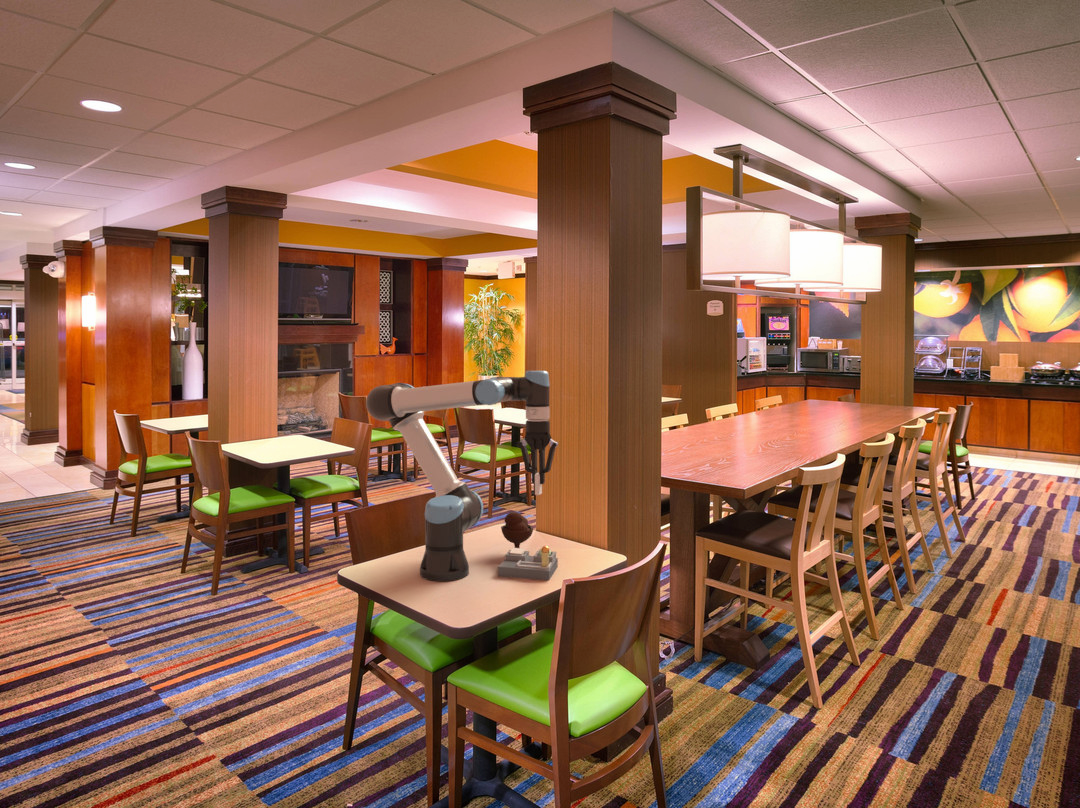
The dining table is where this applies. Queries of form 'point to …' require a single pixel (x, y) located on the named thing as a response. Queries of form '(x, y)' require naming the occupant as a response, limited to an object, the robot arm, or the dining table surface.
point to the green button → (541, 553)
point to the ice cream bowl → (516, 528)
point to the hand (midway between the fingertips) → (538, 494)
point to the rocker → (517, 551)
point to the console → (527, 566)
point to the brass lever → (545, 556)
